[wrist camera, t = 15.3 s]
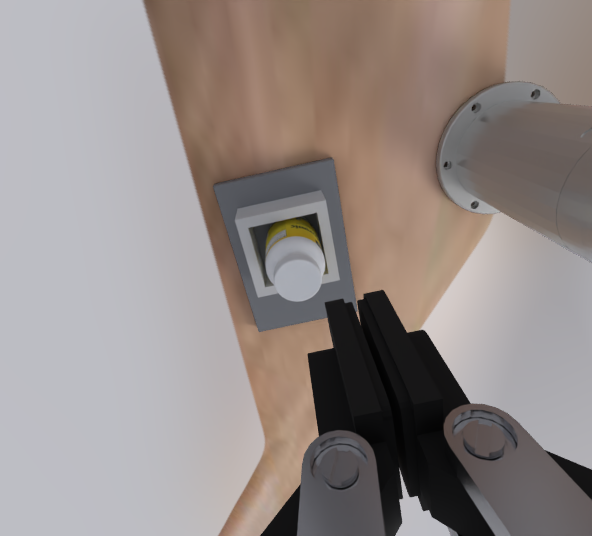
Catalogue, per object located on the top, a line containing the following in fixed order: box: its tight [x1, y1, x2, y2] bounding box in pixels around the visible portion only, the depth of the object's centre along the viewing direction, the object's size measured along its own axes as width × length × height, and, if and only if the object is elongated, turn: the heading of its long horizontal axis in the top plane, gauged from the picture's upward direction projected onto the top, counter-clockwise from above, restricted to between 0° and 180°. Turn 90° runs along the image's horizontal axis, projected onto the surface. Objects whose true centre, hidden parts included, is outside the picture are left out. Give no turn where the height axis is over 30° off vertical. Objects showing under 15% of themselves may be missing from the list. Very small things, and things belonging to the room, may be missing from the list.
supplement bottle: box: [265, 216, 325, 302], centre depth 35 cm, size 5×5×10 cm
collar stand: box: [213, 157, 357, 332], centre depth 39 cm, size 12×18×4 cm, turn 12°
